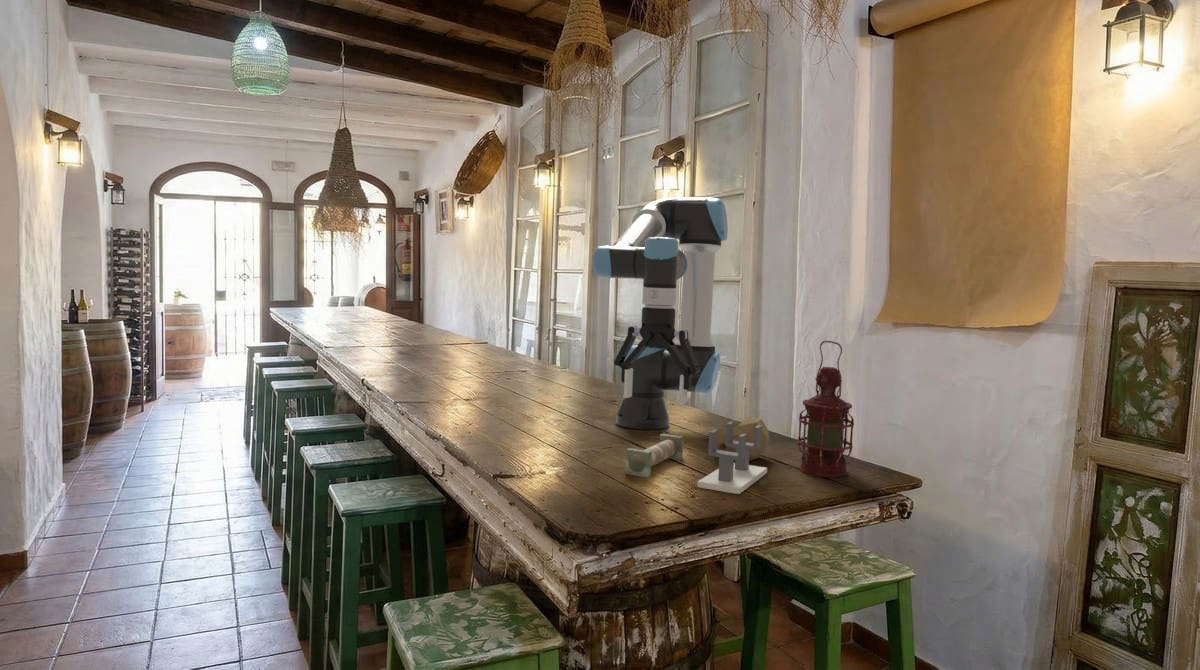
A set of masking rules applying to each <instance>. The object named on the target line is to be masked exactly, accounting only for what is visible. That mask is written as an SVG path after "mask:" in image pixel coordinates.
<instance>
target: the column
mask: <svg viewBox="0 0 1200 670" xmlns="http://www.w3.org/2000/svg"><path fill="white" fill-rule="evenodd" d="M683 451H684V436H683V435H682V436H680V435H674V434H673V435H672V434H668V433H667V434H666V433H661V434H659V441H658V443H656V444H654V445H652V446H649V447H648V448H646V449H637V448H630V447H628V448H627V449H625V466H624V467H625V472H624V474H625V475H633V476H638V477H643V478H649V477H652V467H654V466H656V465H657V464H659V463H661V462H663V461H665V460H669V459H670V460H676V461H682V460H683V457H684V456H683V455H684V453H683Z"/></svg>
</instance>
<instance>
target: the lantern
mask: <svg viewBox="0 0 1200 670" xmlns="http://www.w3.org/2000/svg"><path fill="white" fill-rule="evenodd" d="M825 343H827V344H828V343H830V344H834V345H837V346H839V348H840V351H839V355H838V359H837V361H836V363H837V368H836V367H835V366H834V367H833V366H823V362H824V360H823V359H824V356H823V352H822V345H823V344H825ZM819 351H820V357H821V360H820V365H819V368H818V370H817V373H816V377H815V381H816V382H815V383H816V384H815V392H816V395H815V396H813V397H810V398H809V399H804V400H802V405H803V406H804V408H805V409H803V410H801V411H800V413H799V416H798V421H799V423H798V424H799V425H798V427H799V428H798V437H797V447H798V450H799V451H800V452H801V457H800V458H801V463H800V466H799V471H800V472H802V473H803V474H806V475H810V476H814V477H818V478H819V477H820V478H831V479H832V478H833V479H834V478H835V479H836V478H841V477H845V476H847V474H848V471H847V459H848V458H849V457H850V456H851V454H852V451H853V448H854V447H853V433H854V432H853V430H854V426H855V422H854V421H855V420H854V417H853V416H852V415H850V409H852V408H853V404H852V403H850V402H846V401H845V400H843V399H842V398H841V396H842V382H843V380H842V374H841V371H840V366H839V365H840V363H839V362H840V359H841V356H842V353H843V347H842V345H841V344H840V343H839V342H835V341H831V340H822V341H821V342H820V344H819ZM837 389H838V390H837ZM836 390H837V392H836ZM804 412H806V414H805V415H804V416H803V415H802V414H803V413H804ZM849 417H850V419H851V420H850V419H849ZM848 423H849V424H848ZM802 424H803V437H801V435H802V433H801V429H802ZM848 428H850V438H849V441H848V440H847V430H848ZM806 430H807V432H806ZM806 433H807V434H806ZM801 441H802V442H801ZM847 445H848V446H847ZM801 448H802V449H801ZM806 448H807V449H806ZM847 450H849V451H848V454H847V456H845V455H844V453H845V451H847Z"/></svg>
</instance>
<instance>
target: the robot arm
mask: <svg viewBox="0 0 1200 670" xmlns="http://www.w3.org/2000/svg"><path fill="white" fill-rule="evenodd" d="M727 216H728V215H727V210H726V206H725V203H724V202H723V200H722V199H721V198H717V197H708V196H700V197H699V196H697V197H696V196H695V197H694V196H693V197H690V196H689V197H684V196H681V197H680V196H678V197H676V196H674V197H673V196H668V197H664V198H660V199H656V200H654V201H652V202H650V203H648V204H646V205H644V206H643V207H642V208H640V209H639V210H637V212H636V213H635V215H633V217H632V221H631V224H630V225H629V227H627V229H626V230H625V231H624V232H623V233H622V234H621V235H620V236H619V238H617V240H616V241H615V242H614V243H613V244H612V245H600V246H599V245H598V246H597V247H596V248H595V249H594V252H593V254H592V255H593V256H592V268H593V273H594V274H595V276H597V277H599V278H601V277H602V278H608V279H636V280H637V279H640V280H643V283H642V305H644V306H643V307H642V308H641V327H638V326H636V325H634V326H628V329H627V335H626V337H625V340H624V341H623V344H622V345H621V348H620V349H619V351H618V354H617V355H616V357H615V358H614V361H613V364H614V365H615V366H618V367H619V368H621V369H620V370H621V373H620V374H621V377H620V378H621V381H620V382H621V383H622V384H623V396H622V400H621V403H620V405H619V408H618V410H617V414H616V417H615V418H616V419H615V420H616V421H615V423H616V425H617V426H620V427H623V428H627V429H628V428H629V429H635V430H660V429H661V430H662V429H666V428H668V427H669V426H670V415H669V412H668V409H667V405H666V401H665V391H673V392H674V391H676V392H678V393H679V394H678V405H680V406H682V405H685V404H687V401H688V398H687V397H688V392H689V393H694V394H697V393H698V394H699V393H701V394H702V393H703V394H707V393H710V392H712V391H713V390H714V388H715V386H716V383H717V379H718V375H719V372H720V371H719V370H720V367H721V366H720V365H721V353H720V352H719V351H716V344H715V343H714V342H713V341H712V340H711V330H712V315H713V314H712V313H713V312H712V311H713V295H714V293H713V291H714V275H715V258H716V252H718V251H719V250H720V249H721V247H722V242H724V241H726V240H727V239H728V234H729V233H728V232H729V231H728V230H729V229H728V217H727ZM678 240H679V241H678ZM679 248H681V249H679ZM681 278H682V283H681V284H682V285H681V298H680V299H681V302H680V317H679V319H680V320H679V321H680V322H679V330H676V329H675V328H676V327H675V325H676V309H675V308H674V307H675V306H676V305H677V280H679V279H681ZM639 335H640V337H641V341H639V342H638V344H635V345H634V343H635V341H636V338H637V337H638V336H639ZM675 337H676V340H675V341H673V340H674V339H675Z"/></svg>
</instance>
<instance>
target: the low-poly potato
mask: <svg viewBox="0 0 1200 670" xmlns="http://www.w3.org/2000/svg"><path fill="white" fill-rule="evenodd" d="M758 425H760V426H762V431H761V448H760V449H758V450H751V449H750V452H749V462H750V461H753V460H756V459H758V458H760V456H761V455H763V454H764V452H765V451H766V450H767V447H768V444H769V442H770V431H769V429H768V427H767V426H766V424H765V422H764V421H763V419H762V418H755V417H746V418H745V419H744V420H743V421H742V422H740V423H739V424H738V425H737V426H736V425H735V426H734V430H733V441H739V436H740V435H742V434H747V437H746V442H747V443H754V428H755V427H756V426H758ZM725 442H726V425H725V426H724V425H721V426H720V427H719V428H718V429H717V449H716V450H721V451H728V452H735V453H736V447H730V446H725Z"/></svg>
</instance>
